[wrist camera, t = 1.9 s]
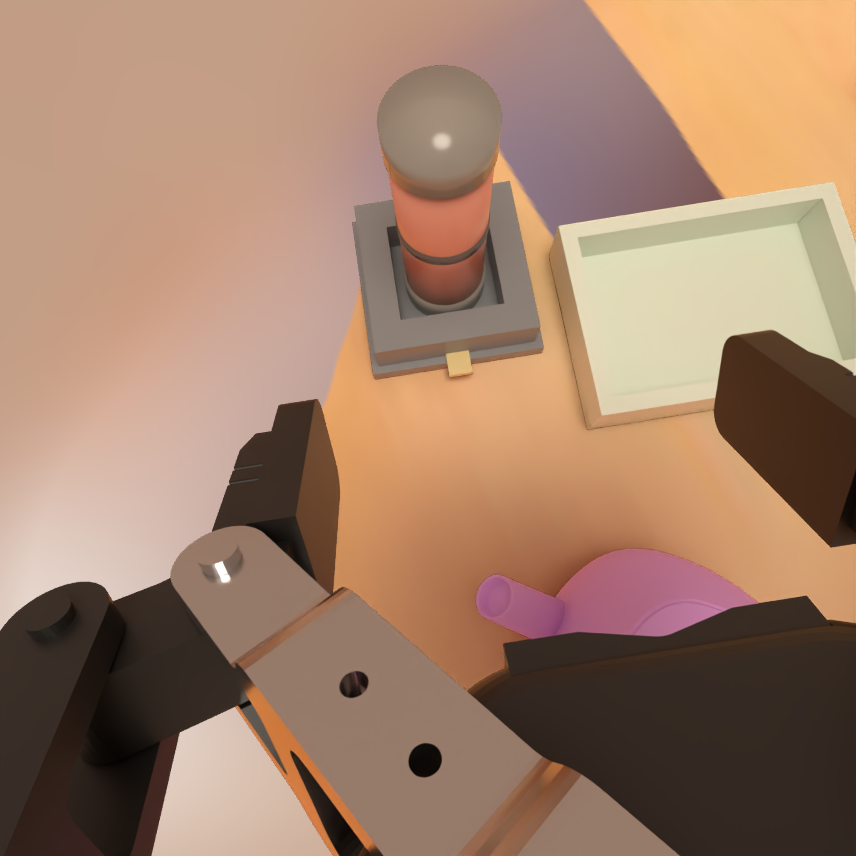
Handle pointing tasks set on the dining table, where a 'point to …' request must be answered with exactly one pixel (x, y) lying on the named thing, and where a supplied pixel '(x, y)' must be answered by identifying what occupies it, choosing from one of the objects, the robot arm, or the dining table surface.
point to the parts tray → (700, 295)
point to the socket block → (454, 331)
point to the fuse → (441, 181)
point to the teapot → (614, 597)
